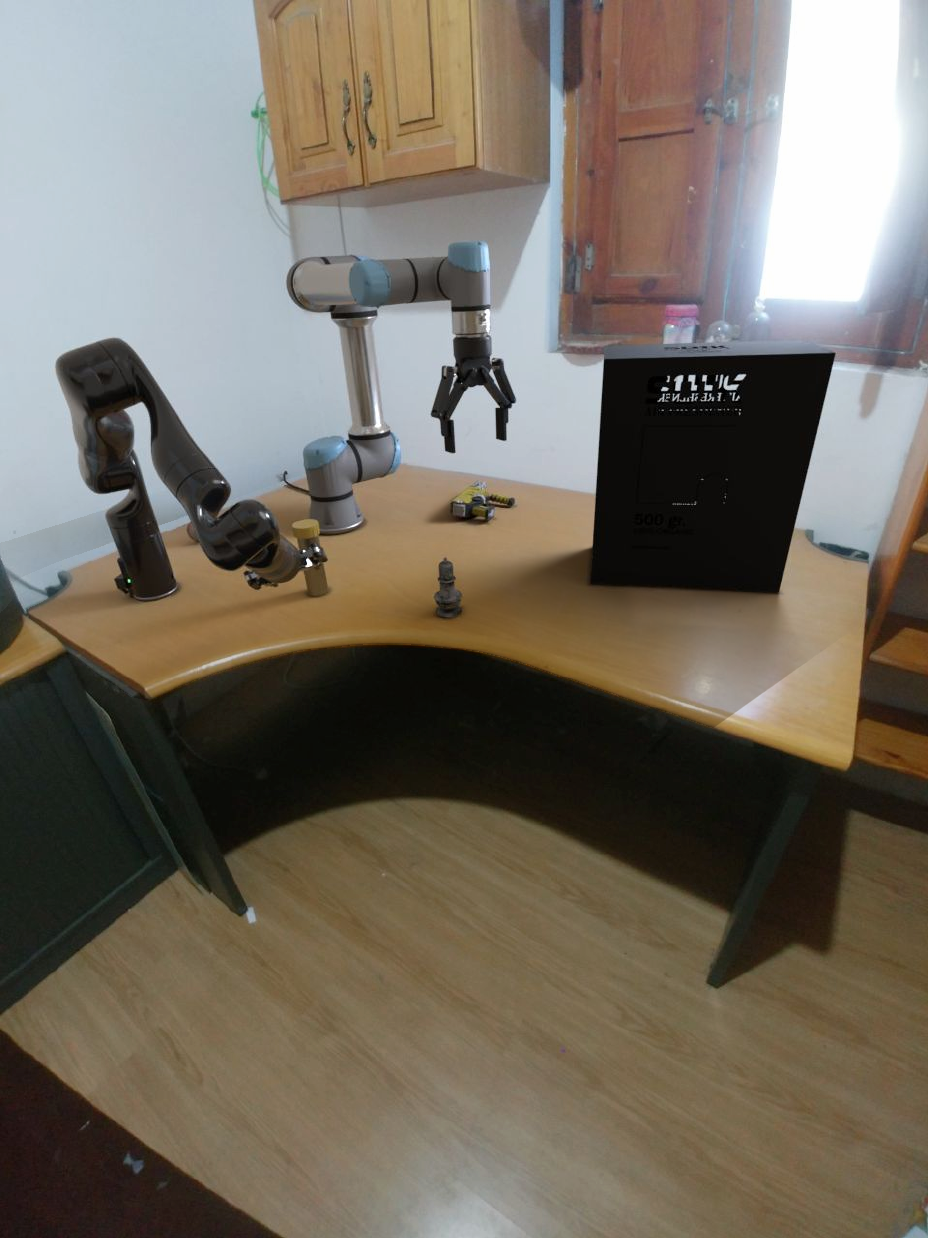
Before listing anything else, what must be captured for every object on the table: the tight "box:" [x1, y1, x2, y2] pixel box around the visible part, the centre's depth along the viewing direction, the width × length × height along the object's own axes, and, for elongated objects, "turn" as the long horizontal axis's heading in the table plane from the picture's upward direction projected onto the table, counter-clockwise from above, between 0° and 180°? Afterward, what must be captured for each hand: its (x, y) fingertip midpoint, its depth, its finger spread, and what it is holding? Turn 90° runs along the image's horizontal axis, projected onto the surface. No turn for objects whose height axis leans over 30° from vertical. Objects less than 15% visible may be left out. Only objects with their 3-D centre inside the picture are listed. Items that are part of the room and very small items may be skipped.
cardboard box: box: [590, 338, 837, 594], centre depth 124 cm, size 38×20×45 cm, turn 78°
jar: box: [296, 535, 329, 597], centre depth 130 cm, size 4×4×16 cm
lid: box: [291, 518, 320, 539], centre depth 127 cm, size 6×6×2 cm
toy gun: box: [449, 480, 516, 522], centre depth 174 cm, size 5×24×15 cm
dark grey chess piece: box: [433, 556, 463, 618], centre depth 120 cm, size 6×6×12 cm
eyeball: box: [186, 521, 199, 543], centre depth 162 cm, size 6×6×6 cm
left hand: (295, 573), depth 116 cm, fingers open, 8 cm apart
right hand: (476, 445), depth 127 cm, fingers open, 13 cm apart
